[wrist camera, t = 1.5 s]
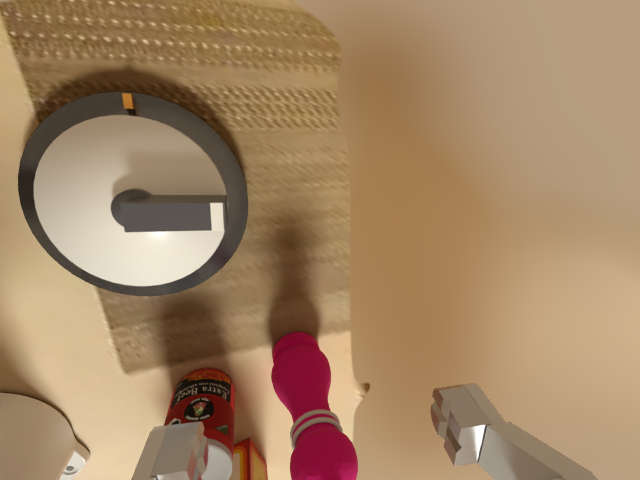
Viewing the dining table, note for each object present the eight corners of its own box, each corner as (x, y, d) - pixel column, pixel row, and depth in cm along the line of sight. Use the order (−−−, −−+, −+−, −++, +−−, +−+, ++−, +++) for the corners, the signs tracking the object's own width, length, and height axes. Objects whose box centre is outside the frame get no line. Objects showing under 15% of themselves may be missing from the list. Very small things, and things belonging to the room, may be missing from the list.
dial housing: (196, 313, 37) (193, 325, 35) (-2, 237, 30) (-23, 246, 28) (280, 167, 35) (283, 169, 32) (83, 45, 27) (68, 37, 25)
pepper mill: (266, 332, 40) (287, 497, 22) (321, 324, 42) (383, 471, 24) (270, 377, 43) (292, 561, 24) (321, 368, 44) (379, 533, 26)
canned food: (237, 364, 41) (235, 440, 31) (232, 413, 43) (230, 498, 33) (173, 366, 39) (149, 448, 29) (172, 417, 41) (149, 509, 31)
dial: (63, 284, 31) (27, 314, 26) (24, 110, 26) (-31, 103, 21) (231, 275, 35) (229, 300, 29) (224, 121, 30) (220, 118, 25)
